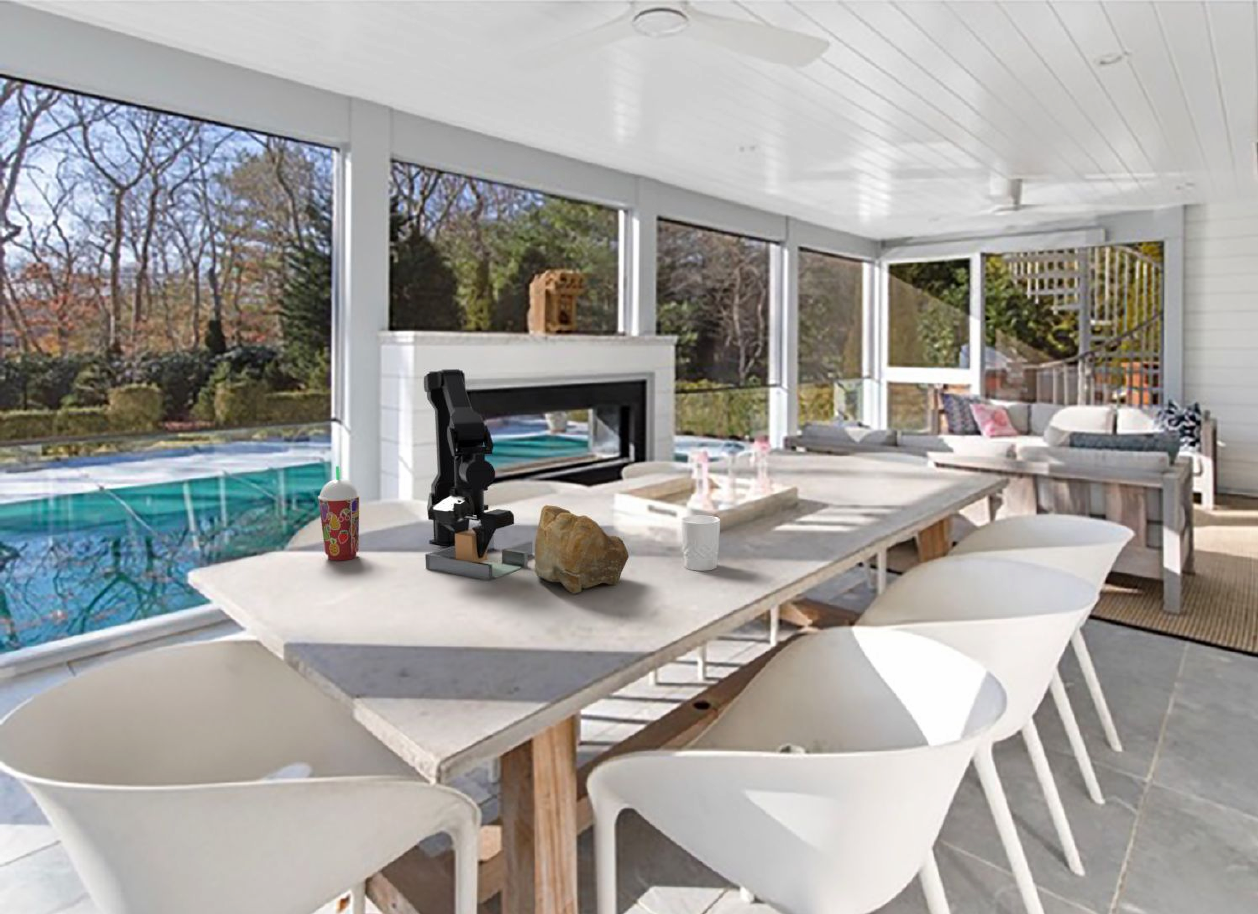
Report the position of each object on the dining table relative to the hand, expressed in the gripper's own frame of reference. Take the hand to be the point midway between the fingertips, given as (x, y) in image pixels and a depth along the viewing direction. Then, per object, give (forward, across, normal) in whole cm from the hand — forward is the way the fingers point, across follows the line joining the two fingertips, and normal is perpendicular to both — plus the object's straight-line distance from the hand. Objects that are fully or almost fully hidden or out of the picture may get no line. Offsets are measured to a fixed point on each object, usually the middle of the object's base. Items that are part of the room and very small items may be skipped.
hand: (471, 556), depth 163 cm
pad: (+2, +5, +1) cm, 6 cm away
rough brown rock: (+3, +26, +4) cm, 26 cm away
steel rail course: (+3, +1, +5) cm, 6 cm away
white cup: (+3, +40, +25) cm, 47 cm away
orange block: (+1, 0, 0) cm, 1 cm away
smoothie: (+3, -30, -8) cm, 31 cm away
